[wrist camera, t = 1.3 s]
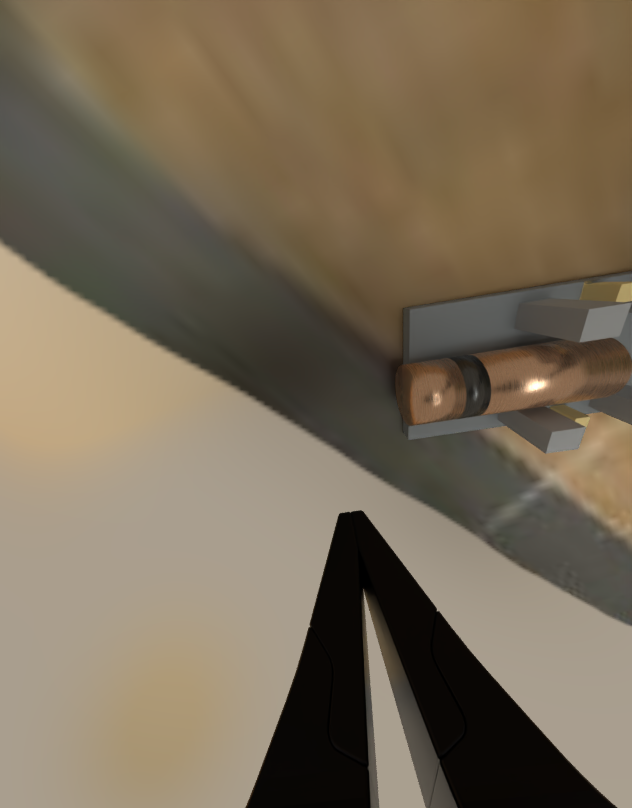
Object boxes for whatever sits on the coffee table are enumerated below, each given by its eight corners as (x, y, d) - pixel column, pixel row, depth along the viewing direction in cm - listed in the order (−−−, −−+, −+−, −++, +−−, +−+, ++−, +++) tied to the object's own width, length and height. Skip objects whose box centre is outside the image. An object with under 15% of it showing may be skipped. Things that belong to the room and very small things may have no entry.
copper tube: (572, 330, 17) (644, 342, 13) (556, 384, 19) (617, 408, 15) (394, 357, 17) (418, 376, 14) (395, 409, 19) (416, 438, 15)
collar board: (707, 258, 16) (887, 246, 11) (644, 396, 21) (754, 432, 16) (403, 308, 17) (444, 317, 12) (403, 432, 21) (433, 477, 16)
